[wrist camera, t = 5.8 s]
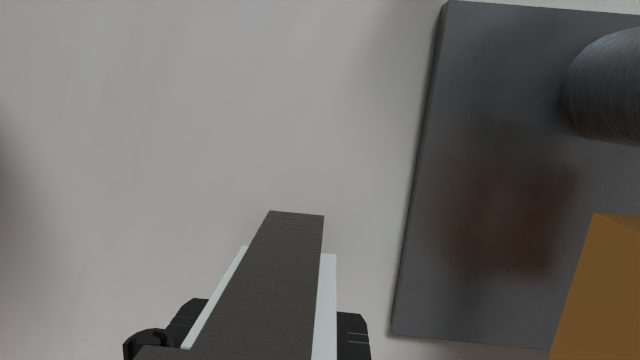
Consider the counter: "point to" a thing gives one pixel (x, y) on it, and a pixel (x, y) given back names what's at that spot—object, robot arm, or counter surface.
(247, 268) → the wedge
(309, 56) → the counter surface
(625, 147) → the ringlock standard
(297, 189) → the counter surface
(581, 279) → the bracket head
